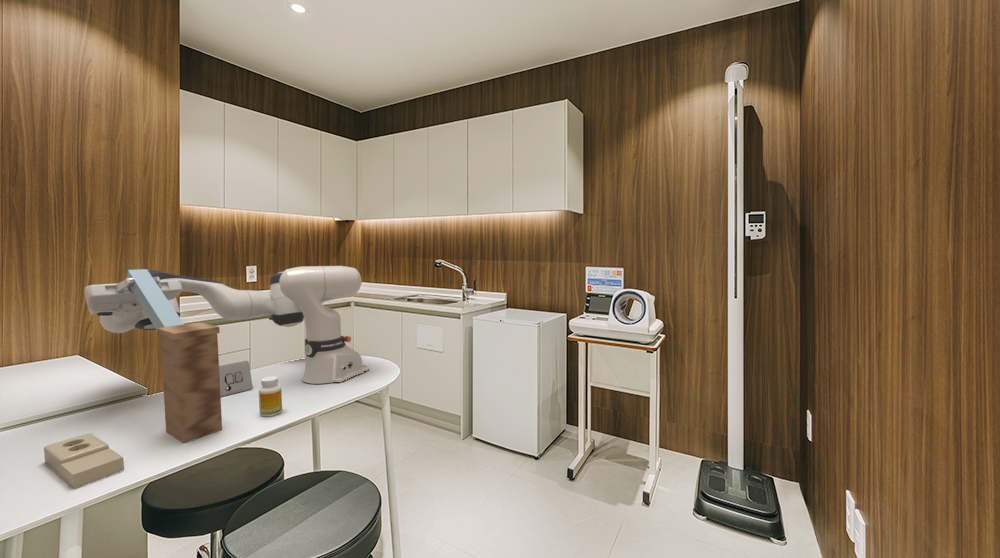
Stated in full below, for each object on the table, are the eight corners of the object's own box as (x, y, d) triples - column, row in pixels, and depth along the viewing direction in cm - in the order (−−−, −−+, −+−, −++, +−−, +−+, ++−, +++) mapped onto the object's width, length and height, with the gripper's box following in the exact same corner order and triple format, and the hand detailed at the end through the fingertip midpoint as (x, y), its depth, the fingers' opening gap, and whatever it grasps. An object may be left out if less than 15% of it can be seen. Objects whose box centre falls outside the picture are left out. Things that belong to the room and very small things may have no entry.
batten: (145, 281, 112) (146, 269, 111) (181, 336, 102) (184, 324, 100) (126, 282, 109) (128, 269, 108) (162, 339, 98) (164, 327, 97)
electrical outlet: (72, 470, 74) (43, 445, 83) (74, 490, 75) (44, 464, 83) (122, 452, 80) (90, 432, 89) (124, 471, 81) (92, 449, 90)
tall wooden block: (206, 419, 104) (200, 322, 102) (224, 429, 99) (219, 326, 97) (163, 432, 97) (156, 328, 95) (180, 444, 91) (174, 333, 89)
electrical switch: (218, 398, 119) (216, 367, 119) (213, 395, 122) (210, 365, 122) (253, 389, 126) (251, 360, 126) (247, 387, 130) (245, 359, 129)
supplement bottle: (285, 412, 109) (283, 378, 108) (263, 419, 105) (261, 383, 104) (278, 407, 113) (277, 374, 112) (257, 413, 109) (255, 378, 108)
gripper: (176, 306, 122) (192, 286, 116) (82, 316, 105) (94, 293, 98) (171, 288, 124) (186, 267, 117) (77, 295, 106) (88, 271, 99)
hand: (143, 279), depth 107 cm, fingers closed on batten, 4 cm apart
